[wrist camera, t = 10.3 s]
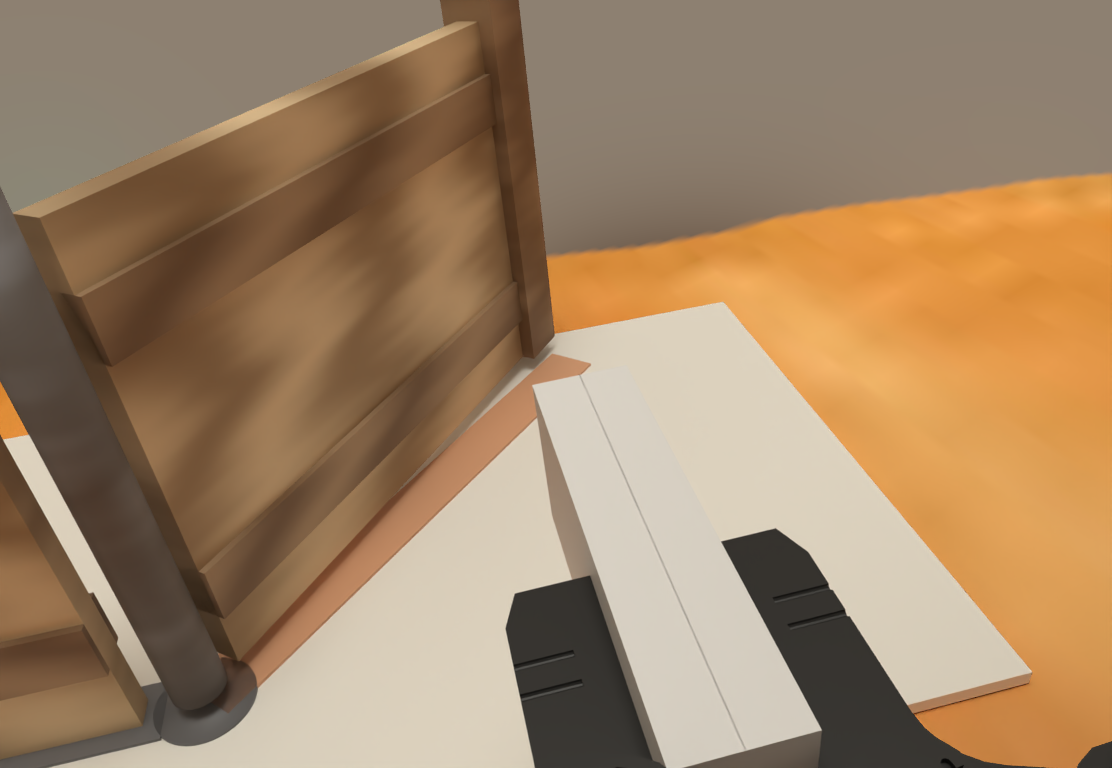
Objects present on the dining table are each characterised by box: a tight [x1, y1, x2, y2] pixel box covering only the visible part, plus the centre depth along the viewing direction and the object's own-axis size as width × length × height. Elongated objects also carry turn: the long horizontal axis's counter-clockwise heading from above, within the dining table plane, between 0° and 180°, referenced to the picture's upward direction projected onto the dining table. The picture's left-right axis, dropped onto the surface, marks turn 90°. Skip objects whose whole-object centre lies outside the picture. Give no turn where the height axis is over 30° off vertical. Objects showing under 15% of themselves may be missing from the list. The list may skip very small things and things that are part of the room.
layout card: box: [0, 302, 1032, 768], centre depth 27 cm, size 36×20×1 cm, turn 102°
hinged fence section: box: [0, 0, 555, 710], centre depth 25 cm, size 19×2×14 cm, turn 153°
